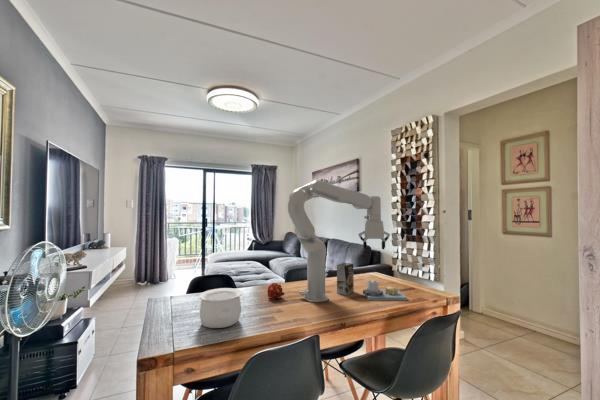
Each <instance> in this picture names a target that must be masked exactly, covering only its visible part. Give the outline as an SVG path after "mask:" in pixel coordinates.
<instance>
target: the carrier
mask: <svg viewBox="0 0 600 400" xmlns="http://www.w3.org/2000/svg"><path fill="white" fill-rule="evenodd" d="M371 281H372V283H375V281H376V280H374V279H372V280H371ZM379 290H380V291H383V295H380V296H369V295H365V294H363V296H365V298H366V299H367V300H368V301H408V297H407V296H406V295H405V294H404V293H402V291H400V290H399V288H398V287H396V286H389V285H388V286H385V287H384V289H379Z"/></svg>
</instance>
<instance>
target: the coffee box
mask: <svg viewBox="0 0 600 400" xmlns="http://www.w3.org/2000/svg"><path fill="white" fill-rule="evenodd" d="M354 278H355V277H354V263H349V262H344V263H340V264H336V294H339V295H342V296H343V295H344V296H348V295H350V294H351V293H352V294H353V293H354V291H355V288H354V286H355V285H354V284H355V283H354V282H355V281H354Z"/></svg>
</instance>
